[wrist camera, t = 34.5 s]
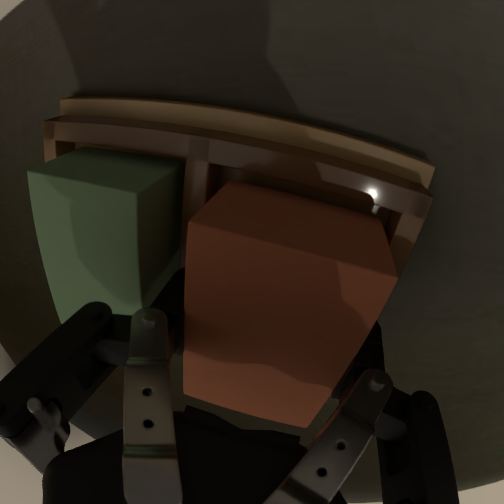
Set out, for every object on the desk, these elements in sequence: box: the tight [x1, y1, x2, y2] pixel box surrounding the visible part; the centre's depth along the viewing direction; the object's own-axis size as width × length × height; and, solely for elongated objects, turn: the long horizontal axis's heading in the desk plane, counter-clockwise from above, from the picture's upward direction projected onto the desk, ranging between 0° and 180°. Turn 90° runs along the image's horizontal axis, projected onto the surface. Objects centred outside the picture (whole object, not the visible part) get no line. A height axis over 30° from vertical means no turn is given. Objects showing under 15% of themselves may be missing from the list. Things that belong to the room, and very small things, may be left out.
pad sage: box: [27, 146, 186, 324], centre depth 14 cm, size 9×6×4 cm, turn 170°
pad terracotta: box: [183, 180, 398, 428], centre depth 12 cm, size 9×6×4 cm, turn 170°
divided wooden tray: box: [43, 96, 435, 394], centre depth 15 cm, size 14×18×2 cm
